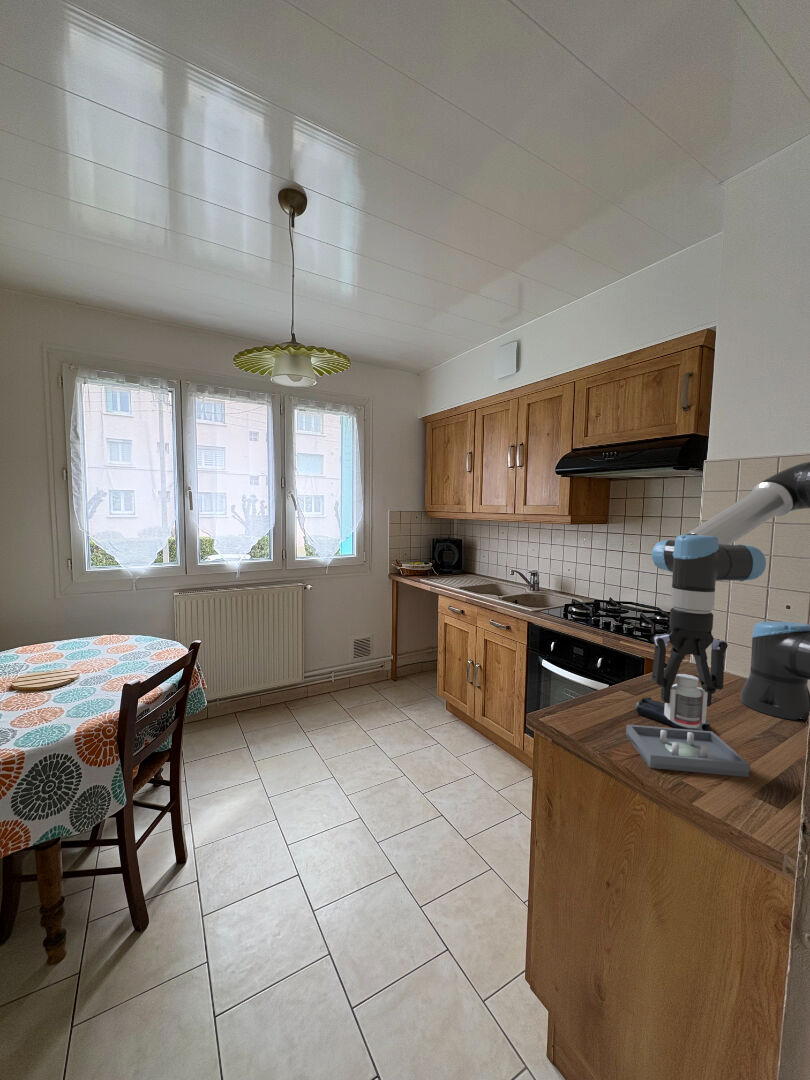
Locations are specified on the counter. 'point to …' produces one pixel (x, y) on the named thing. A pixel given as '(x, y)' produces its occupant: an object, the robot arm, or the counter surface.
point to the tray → (686, 750)
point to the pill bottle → (687, 701)
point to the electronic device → (661, 713)
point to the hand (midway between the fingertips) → (684, 718)
